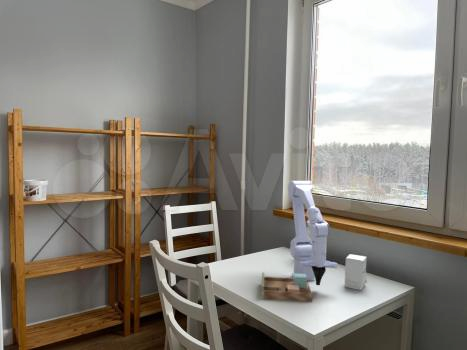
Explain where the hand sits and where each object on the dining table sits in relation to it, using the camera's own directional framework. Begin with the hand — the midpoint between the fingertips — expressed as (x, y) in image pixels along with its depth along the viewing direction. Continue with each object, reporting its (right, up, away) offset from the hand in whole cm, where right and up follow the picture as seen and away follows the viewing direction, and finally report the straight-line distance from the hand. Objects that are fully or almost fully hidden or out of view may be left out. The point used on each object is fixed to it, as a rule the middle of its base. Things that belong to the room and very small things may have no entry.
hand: (317, 284), depth 144 cm
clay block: (-11, -3, -6) cm, 13 cm away
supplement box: (+17, -3, +6) cm, 19 cm away
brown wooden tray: (-13, -3, -2) cm, 14 cm away
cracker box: (+7, -1, +37) cm, 37 cm away
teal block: (-7, -1, +1) cm, 7 cm away
